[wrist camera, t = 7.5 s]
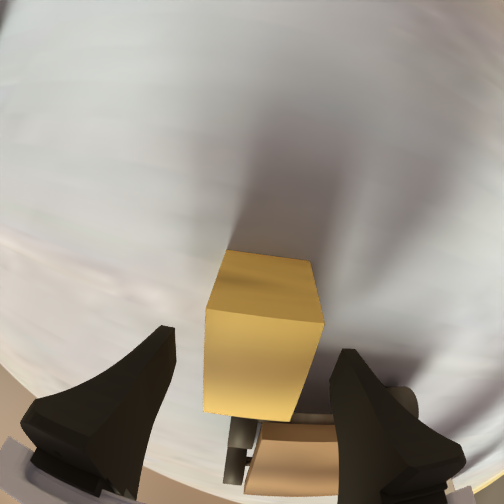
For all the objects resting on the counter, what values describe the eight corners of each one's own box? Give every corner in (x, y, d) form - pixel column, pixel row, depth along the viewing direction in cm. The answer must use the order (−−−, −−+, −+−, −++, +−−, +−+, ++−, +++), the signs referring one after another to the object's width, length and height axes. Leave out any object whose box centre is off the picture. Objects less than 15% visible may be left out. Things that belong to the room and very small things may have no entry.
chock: (285, 359, 17) (286, 428, 12) (218, 351, 17) (203, 418, 12) (309, 260, 14) (325, 323, 10) (226, 249, 14) (205, 308, 10)
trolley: (351, 453, 22) (357, 495, 17) (227, 448, 22) (221, 493, 17) (406, 373, 17) (427, 427, 13) (238, 364, 17) (229, 429, 13)
